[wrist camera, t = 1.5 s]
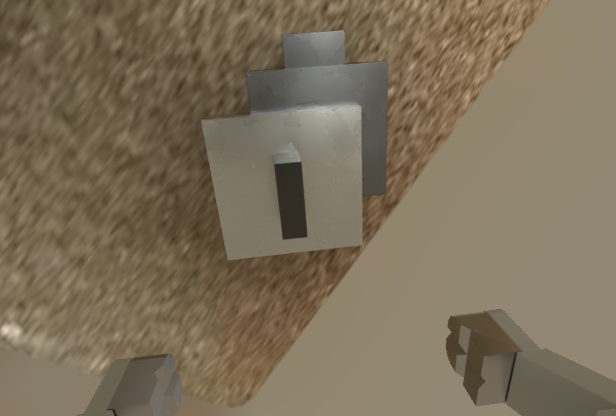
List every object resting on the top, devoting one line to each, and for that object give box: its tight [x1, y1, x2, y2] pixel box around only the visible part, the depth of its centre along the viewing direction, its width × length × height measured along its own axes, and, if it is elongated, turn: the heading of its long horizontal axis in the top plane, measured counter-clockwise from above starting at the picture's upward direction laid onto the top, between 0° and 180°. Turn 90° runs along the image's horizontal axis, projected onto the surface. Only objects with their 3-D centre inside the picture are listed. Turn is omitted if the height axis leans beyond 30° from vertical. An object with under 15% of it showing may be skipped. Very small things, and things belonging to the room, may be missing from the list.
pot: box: [245, 30, 388, 196], centre depth 27 cm, size 13×9×8 cm
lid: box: [201, 105, 363, 260], centre depth 22 cm, size 10×10×4 cm
